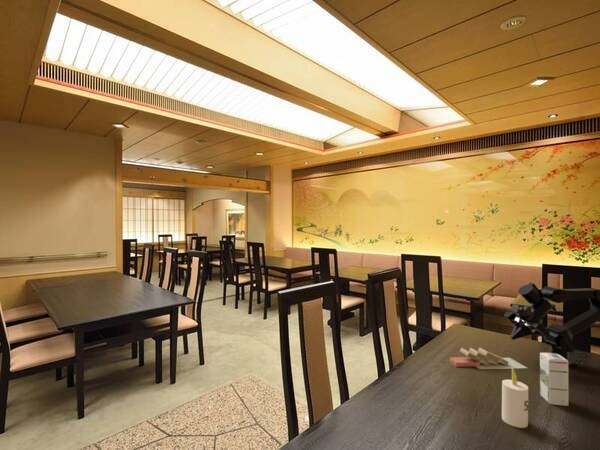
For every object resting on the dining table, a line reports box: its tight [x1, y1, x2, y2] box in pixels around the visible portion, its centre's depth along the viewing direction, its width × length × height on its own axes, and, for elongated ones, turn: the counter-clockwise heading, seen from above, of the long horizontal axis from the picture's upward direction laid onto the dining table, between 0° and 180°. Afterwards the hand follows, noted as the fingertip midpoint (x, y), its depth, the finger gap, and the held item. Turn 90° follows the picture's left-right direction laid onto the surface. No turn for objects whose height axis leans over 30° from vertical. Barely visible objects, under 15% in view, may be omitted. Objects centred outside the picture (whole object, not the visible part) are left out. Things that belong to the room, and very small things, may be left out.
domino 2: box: [459, 347, 490, 366], centre depth 131 cm, size 2×5×10 cm
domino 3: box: [468, 347, 499, 366], centre depth 131 cm, size 2×5×10 cm
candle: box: [501, 368, 530, 429], centre depth 93 cm, size 6×6×15 cm
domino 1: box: [449, 356, 480, 368], centre depth 130 cm, size 2×5×10 cm
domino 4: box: [477, 347, 508, 365], centre depth 131 cm, size 2×5×10 cm
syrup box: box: [539, 352, 569, 407], centre depth 104 cm, size 6×6×14 cm
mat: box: [475, 357, 528, 370], centre depth 131 cm, size 20×10×1 cm, turn 94°
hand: (511, 338), depth 132 cm, fingers closed
